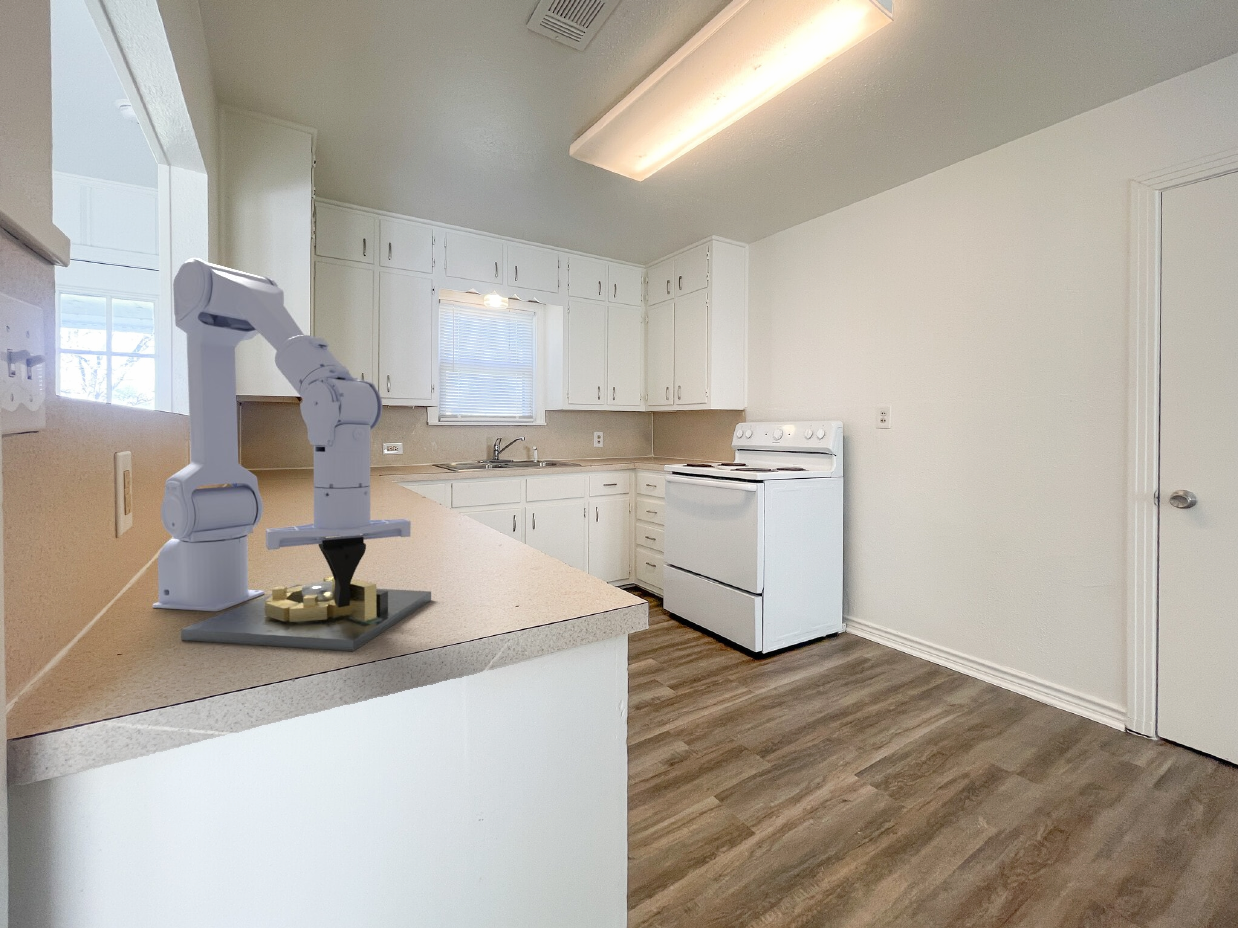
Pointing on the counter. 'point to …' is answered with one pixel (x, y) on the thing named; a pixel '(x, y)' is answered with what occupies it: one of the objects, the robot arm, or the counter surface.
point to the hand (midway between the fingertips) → (342, 604)
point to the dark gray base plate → (306, 622)
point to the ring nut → (321, 603)
